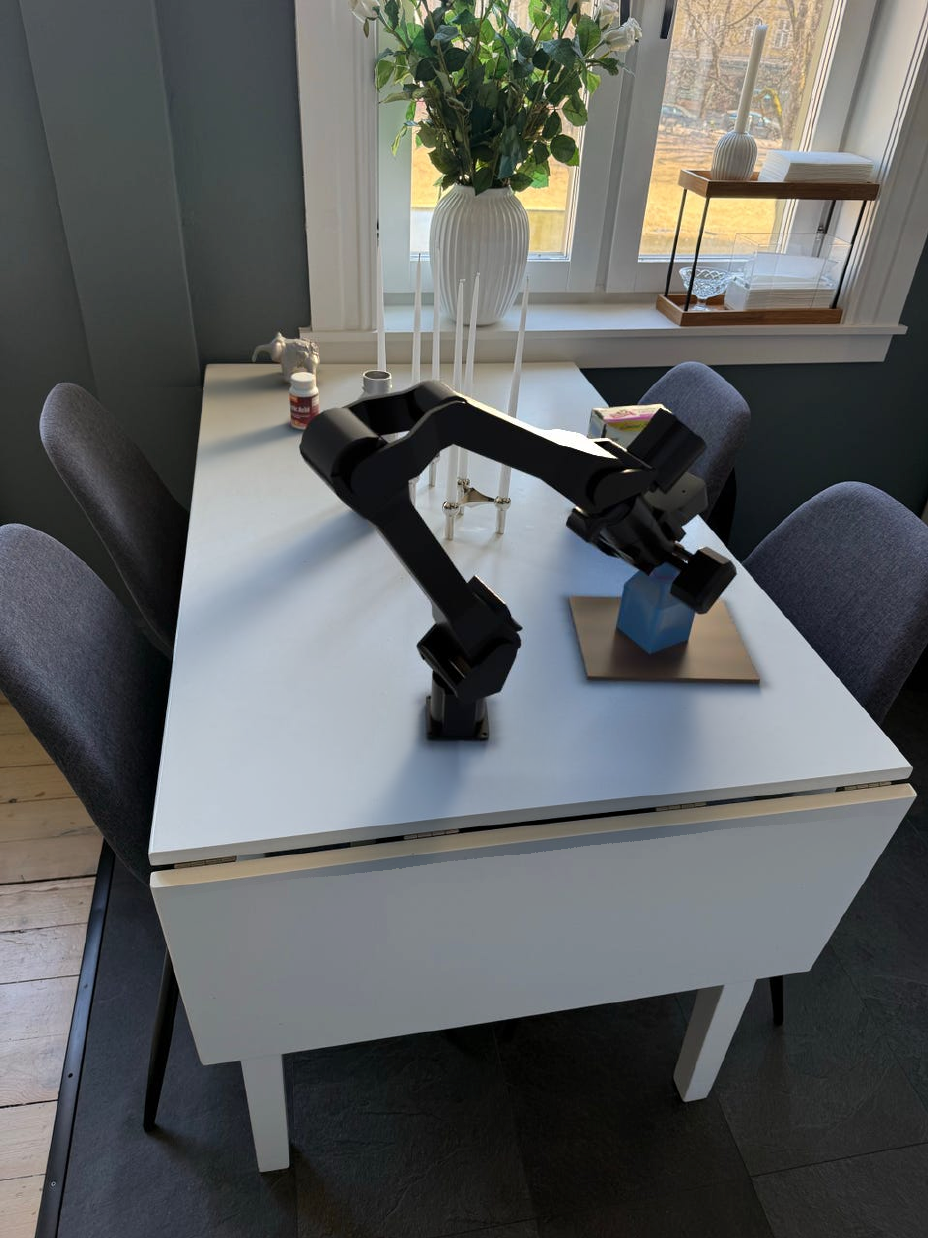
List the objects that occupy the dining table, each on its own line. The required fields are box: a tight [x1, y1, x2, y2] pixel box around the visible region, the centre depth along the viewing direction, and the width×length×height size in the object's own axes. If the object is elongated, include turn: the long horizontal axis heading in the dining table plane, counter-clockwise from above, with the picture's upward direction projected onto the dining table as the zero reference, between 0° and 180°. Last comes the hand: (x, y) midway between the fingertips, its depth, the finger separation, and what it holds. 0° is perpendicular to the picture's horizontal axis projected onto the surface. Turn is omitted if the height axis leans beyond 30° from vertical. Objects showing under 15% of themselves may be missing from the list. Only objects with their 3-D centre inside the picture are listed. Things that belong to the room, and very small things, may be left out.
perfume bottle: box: [616, 541, 696, 654], centre depth 107 cm, size 6×6×12 cm
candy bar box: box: [575, 403, 670, 507], centre depth 130 cm, size 11×5×16 cm, turn 108°
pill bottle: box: [288, 371, 320, 431], centre depth 152 cm, size 5×5×8 cm
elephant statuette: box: [251, 331, 321, 384], centre depth 168 cm, size 9×12×8 cm
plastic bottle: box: [357, 369, 399, 443], centre depth 126 cm, size 6×7×20 cm
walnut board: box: [567, 595, 761, 684], centre depth 110 cm, size 16×20×1 cm
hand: (677, 578), depth 106 cm, fingers open, 9 cm apart
